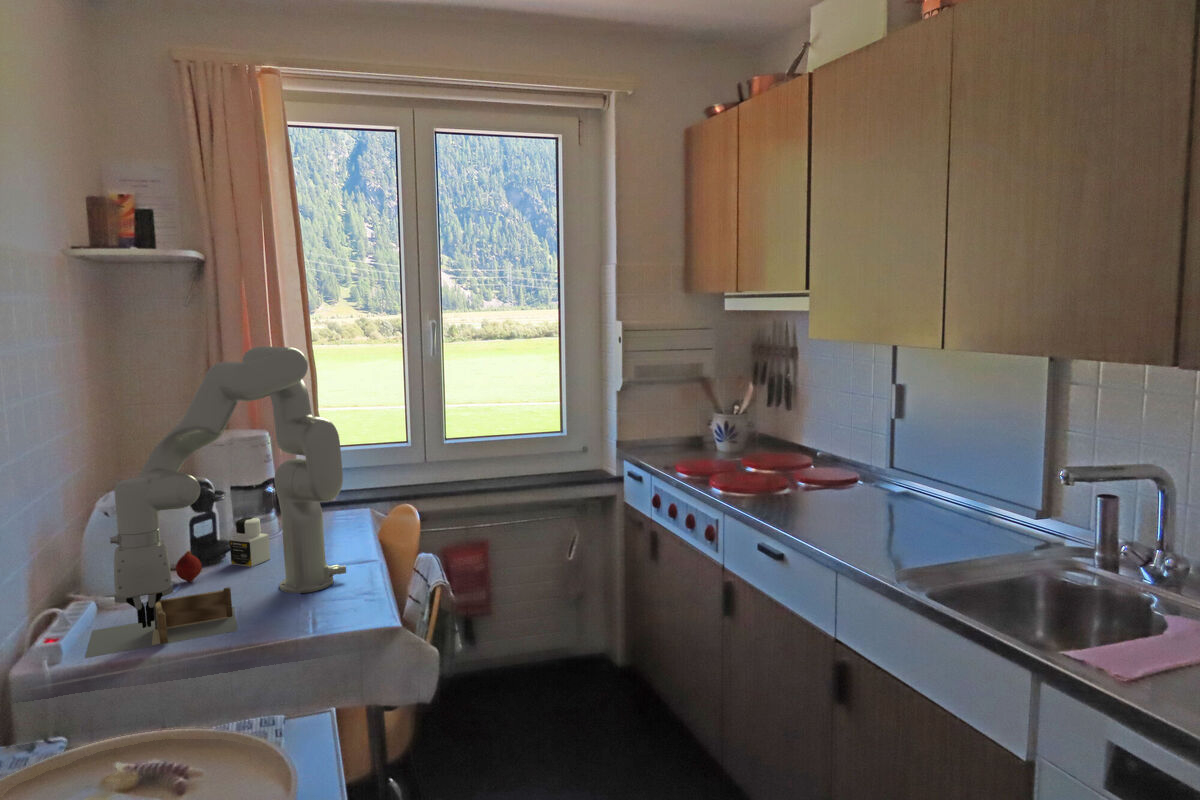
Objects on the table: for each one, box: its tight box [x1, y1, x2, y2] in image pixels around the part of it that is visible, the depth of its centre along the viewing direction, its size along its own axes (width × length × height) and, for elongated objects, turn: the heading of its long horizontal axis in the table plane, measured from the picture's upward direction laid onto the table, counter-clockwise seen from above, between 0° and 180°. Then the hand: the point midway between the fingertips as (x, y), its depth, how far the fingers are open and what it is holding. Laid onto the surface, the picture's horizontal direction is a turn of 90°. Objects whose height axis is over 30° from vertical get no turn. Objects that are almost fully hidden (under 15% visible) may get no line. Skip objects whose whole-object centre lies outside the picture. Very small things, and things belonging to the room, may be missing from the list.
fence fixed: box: [154, 586, 233, 629], centre depth 185 cm, size 15×2×7 cm, turn 116°
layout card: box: [84, 606, 238, 659], centre depth 181 cm, size 28×16×1 cm, turn 116°
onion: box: [175, 550, 203, 583], centre depth 213 cm, size 6×6×8 cm
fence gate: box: [155, 602, 169, 645], centre depth 177 cm, size 11×1×6 cm, turn 32°
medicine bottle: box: [229, 516, 271, 568], centre depth 228 cm, size 7×7×12 cm
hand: (146, 625), depth 175 cm, fingers closed
